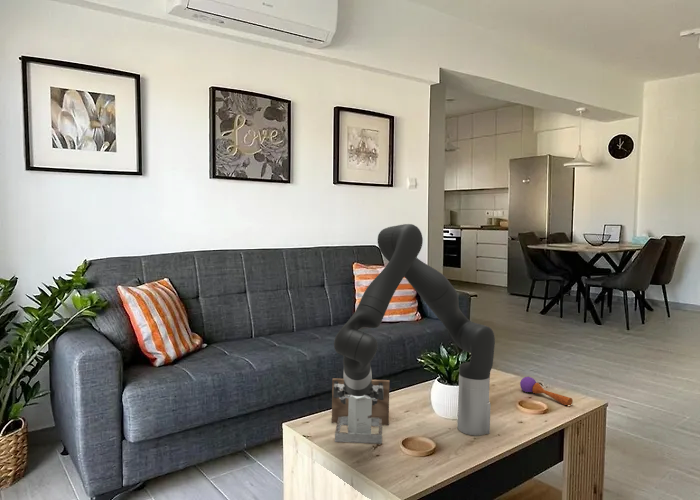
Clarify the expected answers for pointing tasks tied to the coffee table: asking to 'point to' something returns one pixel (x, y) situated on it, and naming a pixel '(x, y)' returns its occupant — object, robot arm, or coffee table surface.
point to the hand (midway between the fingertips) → (358, 401)
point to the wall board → (377, 410)
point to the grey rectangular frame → (358, 436)
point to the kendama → (542, 390)
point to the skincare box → (359, 414)
